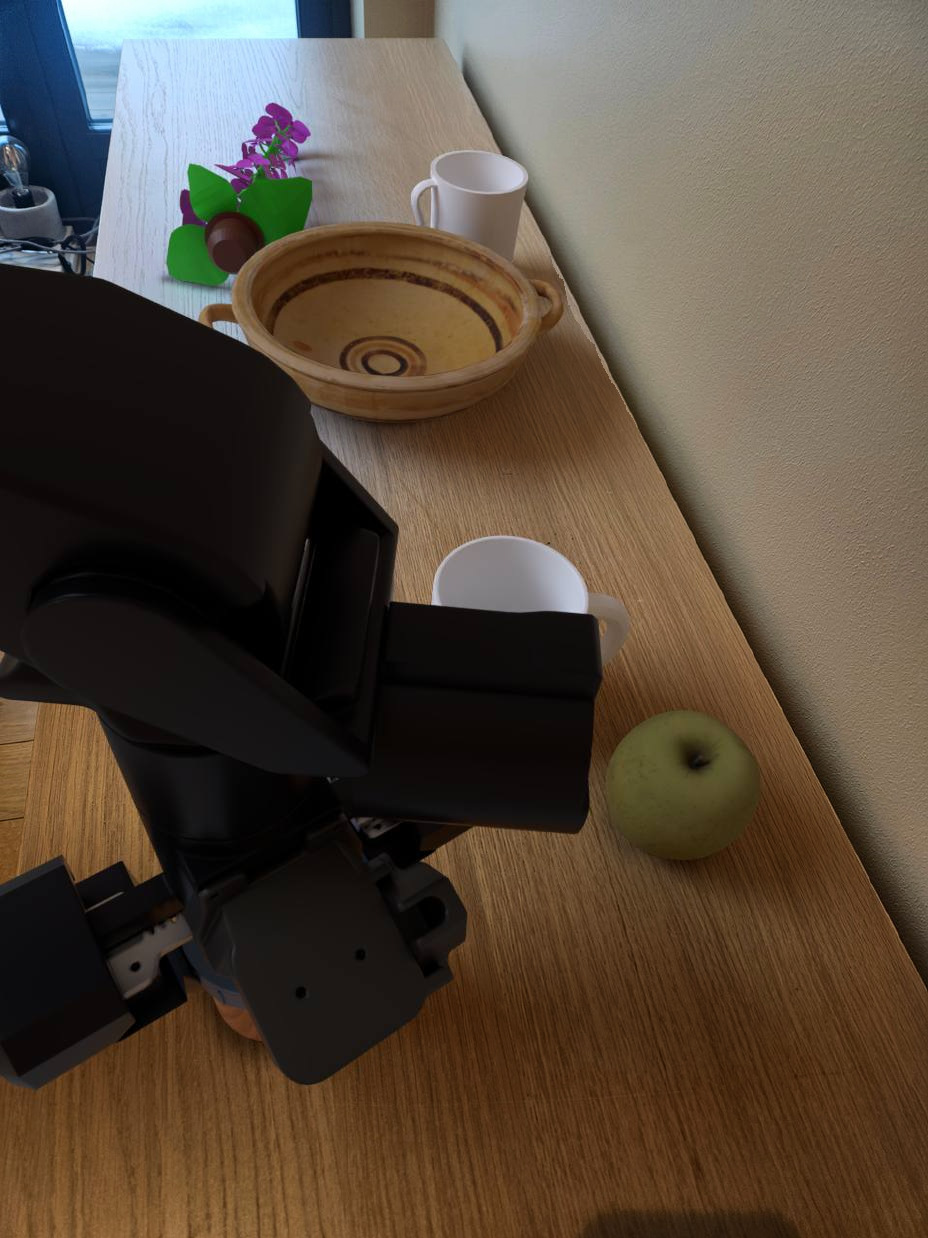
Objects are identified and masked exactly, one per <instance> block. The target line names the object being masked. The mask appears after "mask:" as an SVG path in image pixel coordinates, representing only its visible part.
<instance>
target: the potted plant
mask: <svg viewBox="0 0 928 1238" xmlns="http://www.w3.org/2000/svg"><path fill="white" fill-rule="evenodd" d="M264 111H265V114H267V115H261V116H259V118H258V120H257V123H255V124H254V125H253V126H252V128H251V133H252V134H253V135H254V136H255V138H254V139H248V140H245V141H242V142H241V149H240V150H241V153H242V155H241V156H242V157H241V158H242V159H240V160H238V161H237V162H236V163H235V164H233V165H225V164H218V163H217V164H216V163H215V164H214V163H213V166H216V167H217V168H219V169H221V170H222V171H224V172H226V173H229V174H230V175H232V176H235V178H232V179H230V181H229V180H228V179H226V178H225V177H223V176H222V175H220V174H218V173H215V172H213V171H211V170H210V169H207V168H206V167H204V166H203V165H200V164H196V163H189V164H188V167H187V170H186V173H187V181H188V189H186V188H183V189H181V191H180V195H179V209H180V212H181V214H182V217H181V218H182V220H181V225H180V226H178V227H176V228H175V229H173V231H172V232H171V233H170V235H169V240H168V245H167V253H166V267H167V272H168V275H169V277H172V278H174V279H176V280H179V281H182V282H189V283H190V282H191V283H195V284H199V285H200V284H201V285H205V286H218V285H222V284H224V283H225V282H226V281H228V278H229V277H230V275H234V276H237V274H238V273H239V271H240V269H241V268H242V266H243V265H244V264H245V263H246V262H247V261H248V260H249V259H250V258H251V257H252V256H253V255H254V254H255V253H256V252H258V251H259V250H261V249H263V248H264V247H266V246H267V245H269V244H270V243H272V242H274V241H276V240H279V239H281V238H283V237H285V236H287V235H290V234H293V233H296V232H300V231H303V230H305V226H306V223H307V219H308V216H309V212H310V208H311V206H312V201H313V180H311V179H308V178H306V177H303V176H294V177H288V174H287V172H286V170H287V166H286V164H285V162H286V161H288V164H287V165H288V167H290V166H291V165H292V167H293V169H294V172H295V174H296V172H297V169H296V165H295V161H294V160H295V158H296V157H297V156H298V154H299V147H298V145H297V144H299V145H303V144H304V143H305V142H306V141H307V139H308V138H309V137H311V136H312V133H311V131H310V129H309V127H307V125H306V124H305V123H303V122H302V121H301V120H298V119H295V120H294V121H293V119H294V118H293V115H292V113H291V111H289V110H288V109H287V108H285V107H283V106H282V105H280V104H279V103H276V102H269V103H268V104H267V105H265V108H264ZM248 143H249V144H250V145H249V146H248V145H247V144H248ZM296 143H297V144H296ZM256 146H259V148H260V150H261V151H262V153H259V152H257V151H256V150H257V149H256ZM264 146H266V147H267V150H265V148H264ZM282 157H284V158H282ZM252 168H255V169H256V172H254V171H253V170H252ZM277 169H278V170H279V171H280V173H279V171H277Z"/></svg>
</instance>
